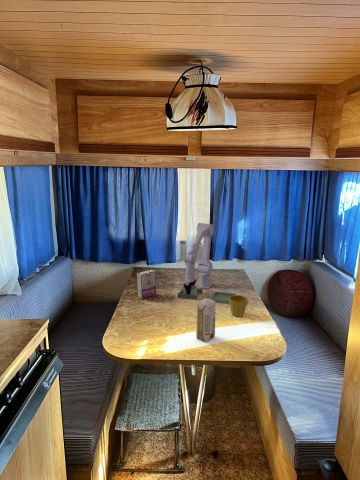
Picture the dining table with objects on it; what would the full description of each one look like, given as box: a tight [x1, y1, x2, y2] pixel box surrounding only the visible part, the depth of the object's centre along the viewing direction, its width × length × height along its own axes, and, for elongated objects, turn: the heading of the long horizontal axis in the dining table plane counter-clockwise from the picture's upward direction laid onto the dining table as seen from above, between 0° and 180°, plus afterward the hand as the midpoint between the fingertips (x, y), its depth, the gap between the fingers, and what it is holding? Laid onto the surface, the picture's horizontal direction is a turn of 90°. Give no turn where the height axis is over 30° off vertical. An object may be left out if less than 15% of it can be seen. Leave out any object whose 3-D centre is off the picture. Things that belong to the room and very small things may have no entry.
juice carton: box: [195, 297, 217, 343], centre depth 176 cm, size 8×9×19 cm
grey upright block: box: [182, 285, 198, 296], centre depth 235 cm, size 5×8×6 cm, turn 71°
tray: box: [209, 290, 237, 305], centre depth 229 cm, size 14×14×2 cm
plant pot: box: [228, 294, 249, 318], centre depth 204 cm, size 10×10×10 cm
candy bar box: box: [136, 269, 157, 300], centre depth 232 cm, size 11×5×16 cm, turn 129°
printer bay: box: [177, 288, 204, 301], centre depth 235 cm, size 13×13×2 cm
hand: (190, 292), depth 235 cm, fingers open, 7 cm apart
